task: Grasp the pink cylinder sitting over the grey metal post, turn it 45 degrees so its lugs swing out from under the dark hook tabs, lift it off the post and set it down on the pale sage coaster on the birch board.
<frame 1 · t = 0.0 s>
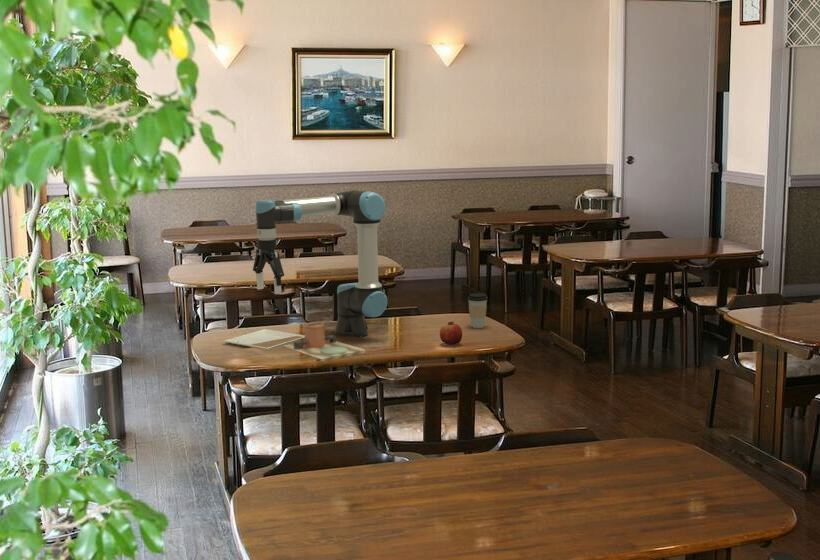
hand: (269, 291, 395), 28 cm above the table, fingers open, 13 cm apart
coffee cup: (477, 327, 450), on the table
lock station: (323, 350, 412), on the table
fruit: (451, 345, 418), on the table
plate: (266, 343, 429), on the table
pink cylinder: (315, 345, 416), point 1 cm above the table, touching lock station
coaster: (334, 354, 406), resting on lock station
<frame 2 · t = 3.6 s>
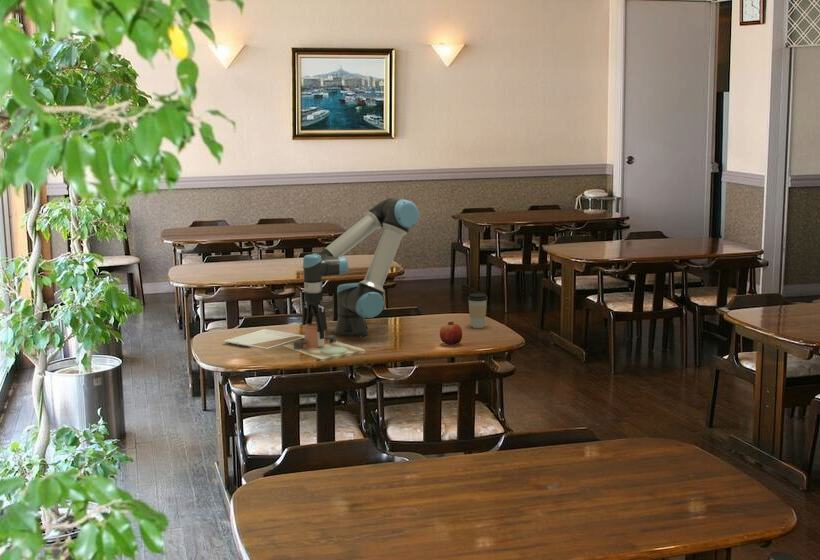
hand: (315, 344, 416), 2 cm above the table, fingers closed on pink cylinder, 8 cm apart
pink cylinder: (315, 345, 416), point 1 cm above the table, touching gripper, lock station
everything else where it was.
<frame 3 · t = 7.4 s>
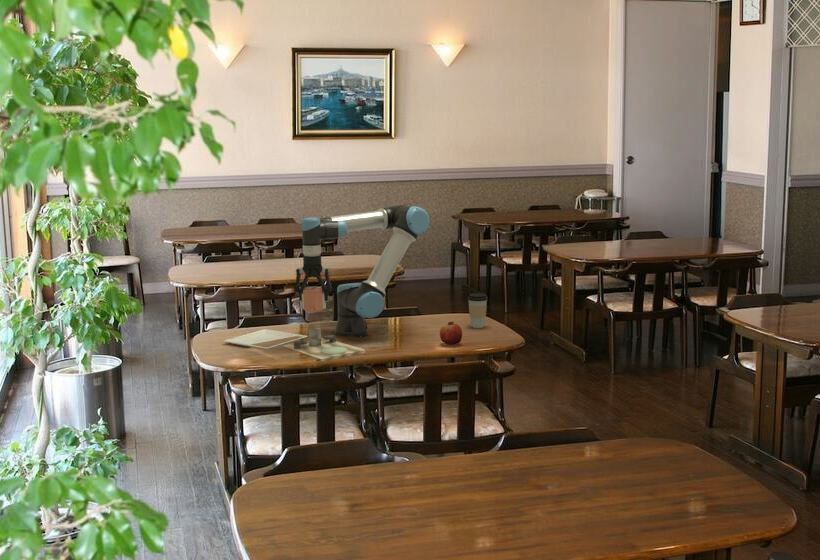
hand: (314, 308, 413), 17 cm above the table, fingers closed on pink cylinder, 8 cm apart
pink cylinder: (314, 309, 413), point 17 cm above the table, touching gripper
everything else where it was.
when the fingers open (4 cm above the table, at t = 11.2 s): pink cylinder drops 2 cm, resting on coaster.
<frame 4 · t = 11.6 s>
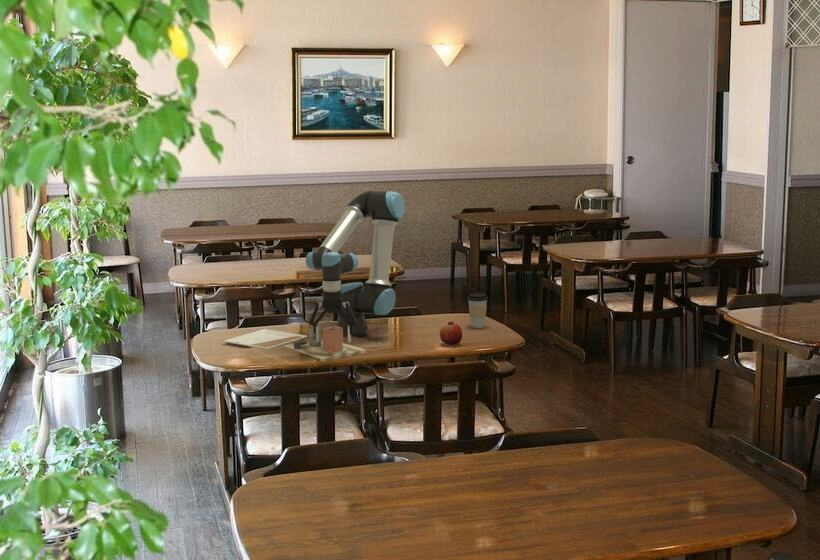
hand: (333, 341, 405), 5 cm above the table, fingers open, 12 cm apart
pink cylinder: (333, 349, 405), point 2 cm above the table, touching coaster
everything else where it was.
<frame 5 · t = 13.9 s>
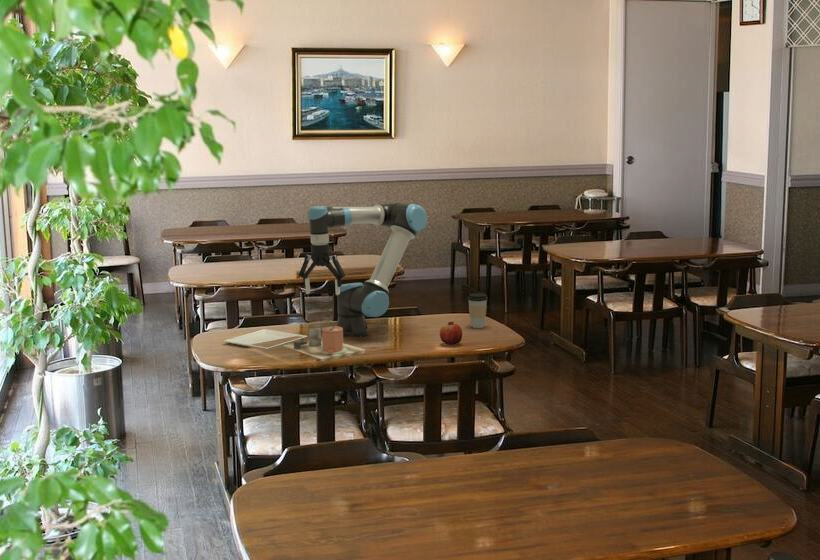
hand: (322, 294, 410), 24 cm above the table, fingers open, 13 cm apart
nothing on the table moved.
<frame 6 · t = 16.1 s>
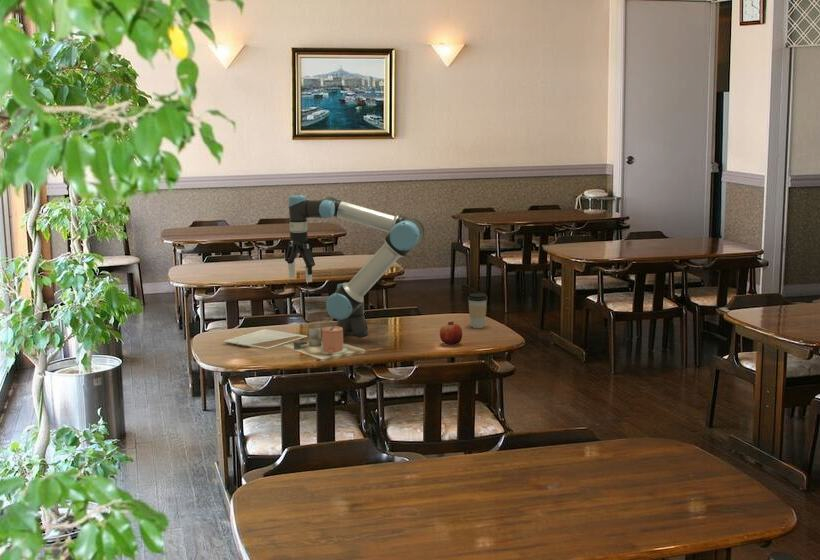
hand: (300, 280, 426), 27 cm above the table, fingers open, 13 cm apart
nothing on the table moved.
at the end: pink cylinder inside the target area on the coaster (0.3 cm from its centre), point 1.8 cm above the coaster's base; pink cylinder tilted 0°; the gripper is holding nothing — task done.
